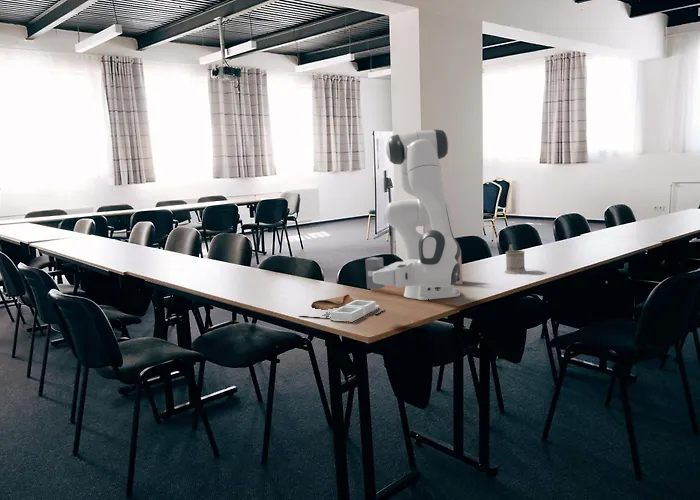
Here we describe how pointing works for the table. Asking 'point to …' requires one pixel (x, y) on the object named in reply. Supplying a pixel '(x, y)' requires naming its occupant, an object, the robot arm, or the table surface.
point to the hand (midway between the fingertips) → (372, 271)
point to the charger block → (374, 265)
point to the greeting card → (460, 270)
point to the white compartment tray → (354, 310)
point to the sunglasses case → (332, 303)
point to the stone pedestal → (515, 261)
